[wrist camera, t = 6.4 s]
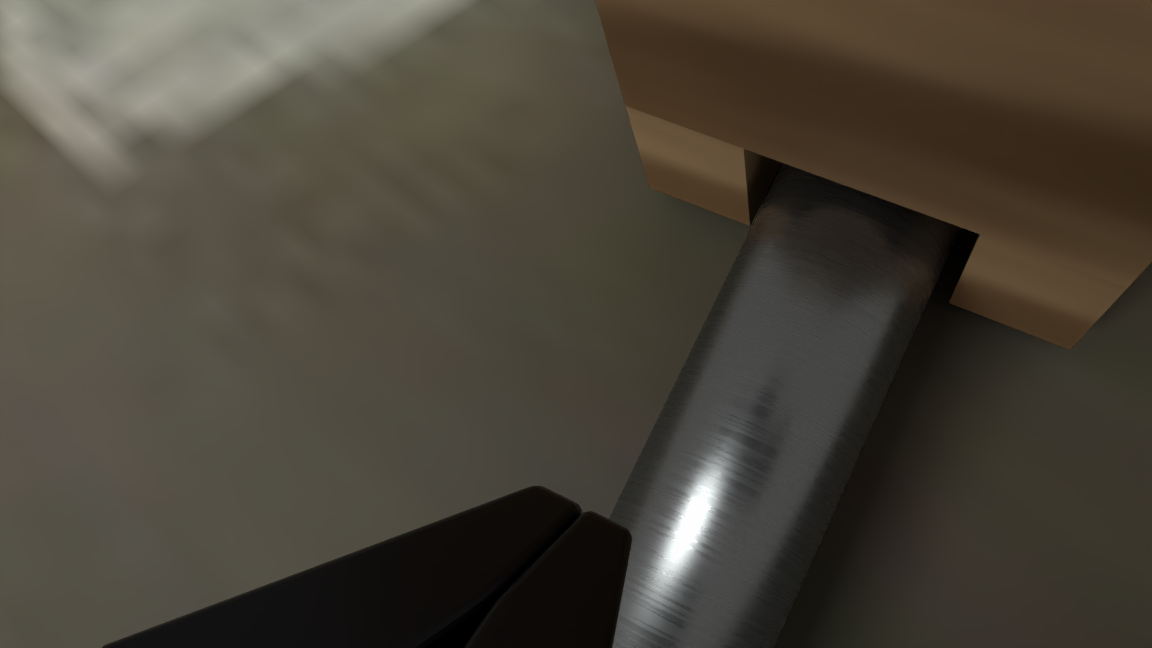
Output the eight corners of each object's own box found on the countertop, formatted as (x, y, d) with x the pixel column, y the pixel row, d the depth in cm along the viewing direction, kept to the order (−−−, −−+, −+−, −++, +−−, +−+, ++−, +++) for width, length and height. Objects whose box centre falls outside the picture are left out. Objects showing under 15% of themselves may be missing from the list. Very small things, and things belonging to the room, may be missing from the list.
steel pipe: (705, 822, 16) (686, 860, 13) (527, 718, 17) (472, 731, 14) (1075, -17, 19) (1130, -142, 16) (908, -64, 20) (929, -191, 17)
